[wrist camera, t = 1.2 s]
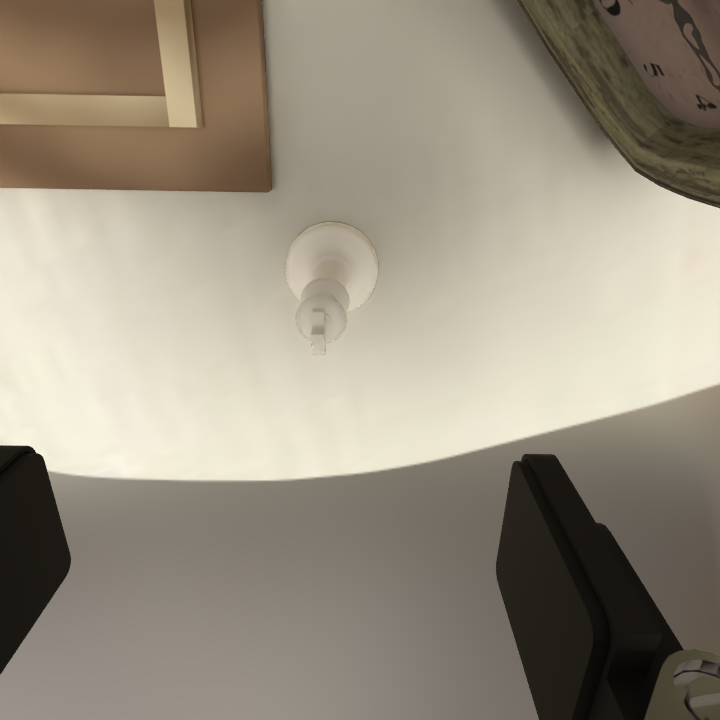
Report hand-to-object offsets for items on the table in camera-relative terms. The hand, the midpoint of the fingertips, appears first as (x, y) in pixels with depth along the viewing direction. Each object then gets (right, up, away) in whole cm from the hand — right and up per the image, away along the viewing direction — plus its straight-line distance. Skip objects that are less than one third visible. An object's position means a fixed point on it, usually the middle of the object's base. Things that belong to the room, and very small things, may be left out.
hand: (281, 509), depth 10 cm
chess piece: (0, +8, +17) cm, 19 cm away
